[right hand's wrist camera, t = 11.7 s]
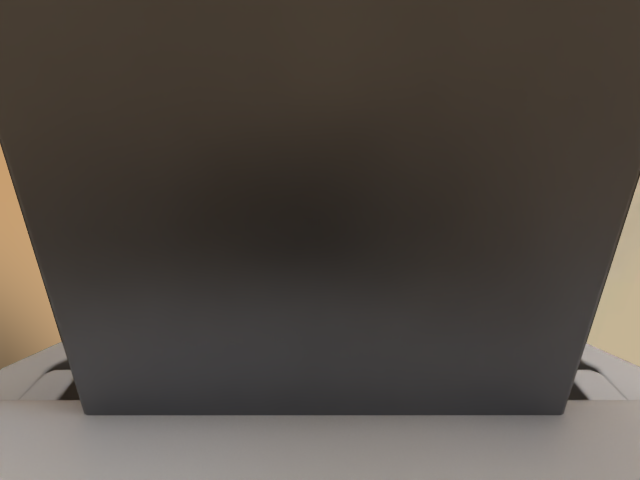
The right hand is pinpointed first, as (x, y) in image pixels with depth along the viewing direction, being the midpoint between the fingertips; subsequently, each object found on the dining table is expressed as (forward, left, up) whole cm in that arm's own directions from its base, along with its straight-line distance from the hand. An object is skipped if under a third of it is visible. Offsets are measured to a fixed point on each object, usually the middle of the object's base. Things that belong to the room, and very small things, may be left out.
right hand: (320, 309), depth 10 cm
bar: (+9, 0, -3) cm, 9 cm away
